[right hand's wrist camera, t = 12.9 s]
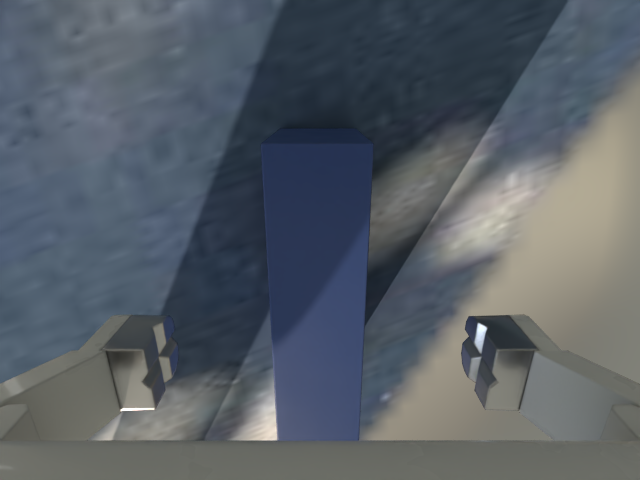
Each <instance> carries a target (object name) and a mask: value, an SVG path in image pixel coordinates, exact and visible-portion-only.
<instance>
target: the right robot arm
mask: <svg viewBox="0 0 640 480" xmlns="http://www.w3.org/2000/svg"><path fill="white" fill-rule="evenodd" d="M174 330H175V326H174V322H173V318H172V317H171V316H164V315H114V316H111V317H110V318H109V319H108V320H107V321H106V322H105V323H104V324H103V326H102V327H101V328H100V329H99V330H98V331H97V332H96V333H95V334H94V335H93V336H92V337H91V338H90V339H89V340H88V341H87V342H86V343H85V344H84V345H83V346H82V347H81V348H80V349H79V350H78V351H70V352H68V353H66V354H64V355H62V356H59V357H57V358H55V359H53V360H51V361H49V362H46V363H44V364H42V365H40V366H38V367H36V368H33V369H31V370H29V371H27V372H25V373H23V374H21V375H18V376H16V377H14V378H12V379H10V380H8V381H5V382H3V383H1V384H0V480H640V384H639V383H637V382H634V381H632V380H630V379H628V378H626V377H624V376H622V375H619V374H617V373H615V372H613V371H611V370H609V369H606V368H604V367H602V366H600V365H598V364H596V363H593V362H591V361H589V360H587V359H585V358H583V357H580V356H578V355H576V354H574V353H572V352H570V351H562V350H561V349H560V348H559V347H558V346H557V345H556V344H555V343H554V342H553V341H552V340H551V339H550V338H549V337H548V336H547V335H546V334H545V333H544V332H543V331H542V330H541V329H540V328H539V326H538V325H537V324H536V323H535V322H534V321H533V320H532V319H531V318H530V317H529V316H526V315H499V316H469V317H468V319H467V321H466V326H465V330H466V332H467V333H468V335H469V337H468V338H467V339H466V340H465V341H464V342H463V344H462V352H461V355H462V364H463V368H464V371H465V373H466V375H467V377H468V378H469V379H470V380H472V381H473V382H475V383H476V385H475V392H476V394H477V396H478V398H479V400H480V401H481V403H482V405H483V407H484V409H485V410H506V411H519V413H520V414H522V415H523V416H524V417H525V418H527V419H528V420H529V421H530V422H532V423H533V424H534V425H535V426H537V427H538V428H539V429H540V430H542V431H543V432H544V433H545V434H547V435H548V436H549V437H550V438H551V439H553V440H554V441H86V440H87V439H89V438H90V437H91V436H92V435H94V434H95V433H96V432H97V431H99V430H100V429H101V428H102V427H104V426H105V425H106V424H107V423H109V422H110V421H111V420H112V419H114V418H115V417H116V416H117V415H119V414H120V413H121V411H134V410H155V409H156V407H157V405H158V403H159V401H160V400H161V398H162V396H163V394H164V392H165V385H164V383H165V382H167V381H168V380H170V379H171V378H172V377H173V375H174V373H175V371H176V368H177V363H178V352H179V351H178V344H177V342H176V341H175V340H174V339H173V338H172V337H171V335H172V334H173V332H174Z"/></svg>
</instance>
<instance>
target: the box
mask: <svg viewBox="0 0 640 480" xmlns="http://www.w3.org/2000/svg"><path fill="white" fill-rule="evenodd" d="M373 149H374V144H373V143H372V142H371V141H370V140H369V139H367V138H366V137H365V136H364V135H363V134H362V133H360V132H359V131H358V130H357V129H356V128H298V129H279V130H278V131H277V132H275V133H274V134H273V135H271V136H270V137H269V138H268V139H266V140H265V141H264V142H263V143H261V159H262V176H263V194H264V212H265V229H266V247H267V264H268V282H269V300H270V317H271V335H272V353H273V370H274V388H275V406H276V423H277V441H359V428H360V408H361V388H362V369H363V349H364V329H365V309H366V289H367V269H368V249H369V229H370V209H371V189H372V169H373Z"/></svg>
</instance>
